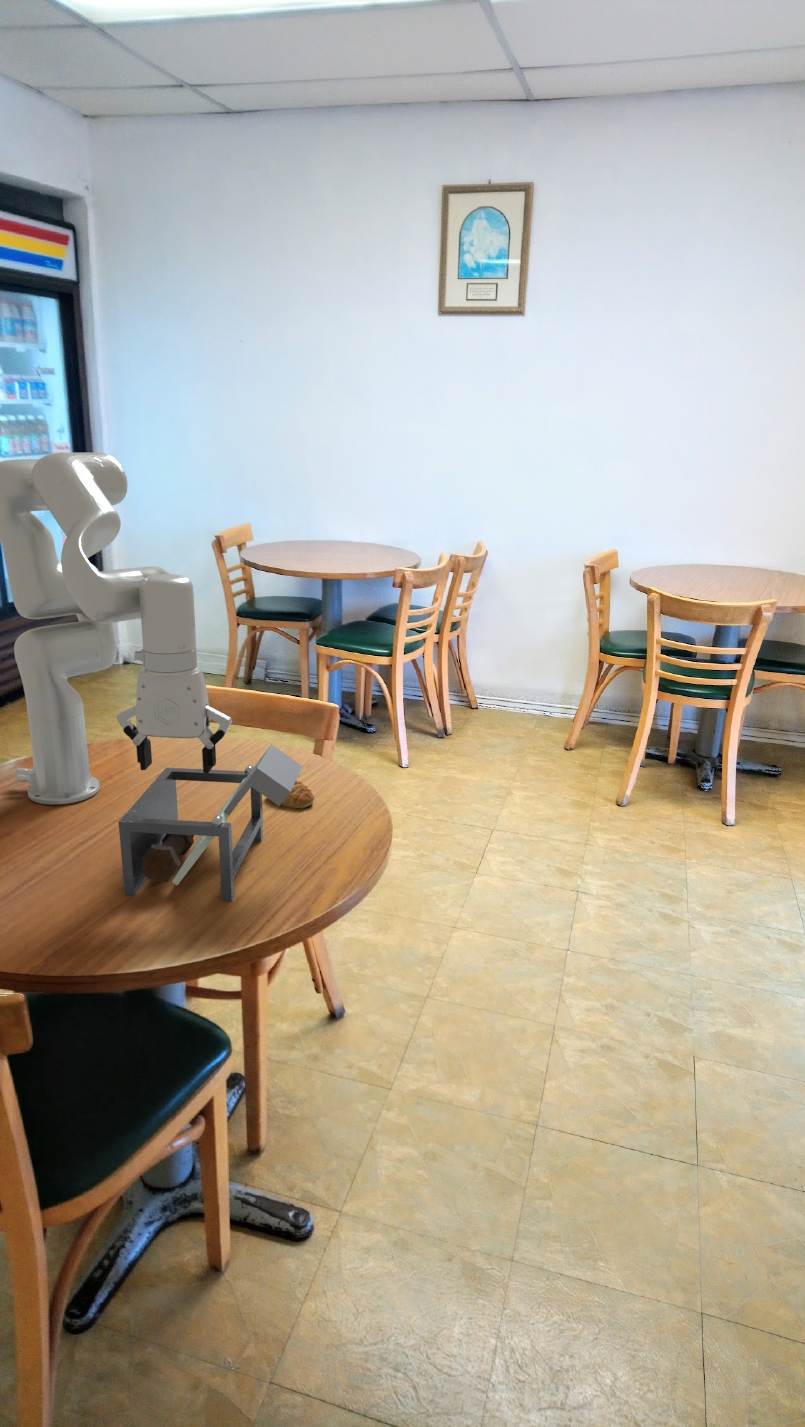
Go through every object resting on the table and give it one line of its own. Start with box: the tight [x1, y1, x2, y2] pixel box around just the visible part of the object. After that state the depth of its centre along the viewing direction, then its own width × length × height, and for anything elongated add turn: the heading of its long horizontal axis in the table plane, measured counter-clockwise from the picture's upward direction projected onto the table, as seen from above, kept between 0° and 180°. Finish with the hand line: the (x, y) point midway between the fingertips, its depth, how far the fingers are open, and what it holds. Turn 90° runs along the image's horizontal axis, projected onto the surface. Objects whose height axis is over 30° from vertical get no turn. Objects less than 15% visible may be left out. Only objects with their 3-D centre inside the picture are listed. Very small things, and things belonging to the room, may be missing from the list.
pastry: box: [280, 779, 315, 809], centre depth 161 cm, size 9×7×4 cm
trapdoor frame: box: [118, 764, 264, 903], centre depth 135 cm, size 16×21×13 cm
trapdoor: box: [171, 744, 303, 886], centre depth 134 cm, size 21×17×6 cm
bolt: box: [140, 834, 195, 882], centre depth 136 cm, size 6×5×15 cm
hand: (177, 768), depth 132 cm, fingers open, 9 cm apart
